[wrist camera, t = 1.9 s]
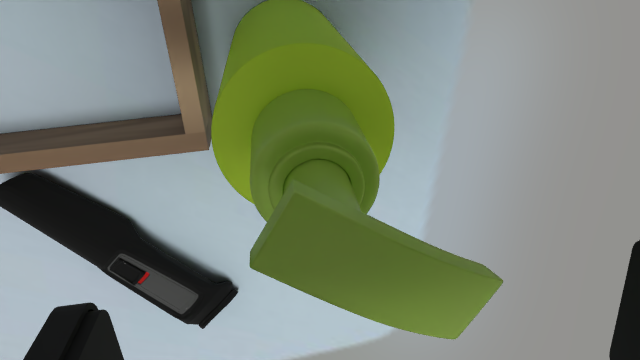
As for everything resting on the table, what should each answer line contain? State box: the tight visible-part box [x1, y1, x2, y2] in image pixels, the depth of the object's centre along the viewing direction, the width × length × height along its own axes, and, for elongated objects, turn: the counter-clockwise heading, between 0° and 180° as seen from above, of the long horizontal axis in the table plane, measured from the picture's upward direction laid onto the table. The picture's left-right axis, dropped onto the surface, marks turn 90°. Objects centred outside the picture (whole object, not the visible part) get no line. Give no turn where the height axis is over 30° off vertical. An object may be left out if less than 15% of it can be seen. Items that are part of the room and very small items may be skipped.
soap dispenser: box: [211, 0, 503, 339], centre depth 19 cm, size 6×7×20 cm
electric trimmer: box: [0, 173, 238, 329], centre depth 31 cm, size 4×16×3 cm, turn 47°
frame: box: [0, 0, 212, 174], centre depth 24 cm, size 13×18×4 cm
